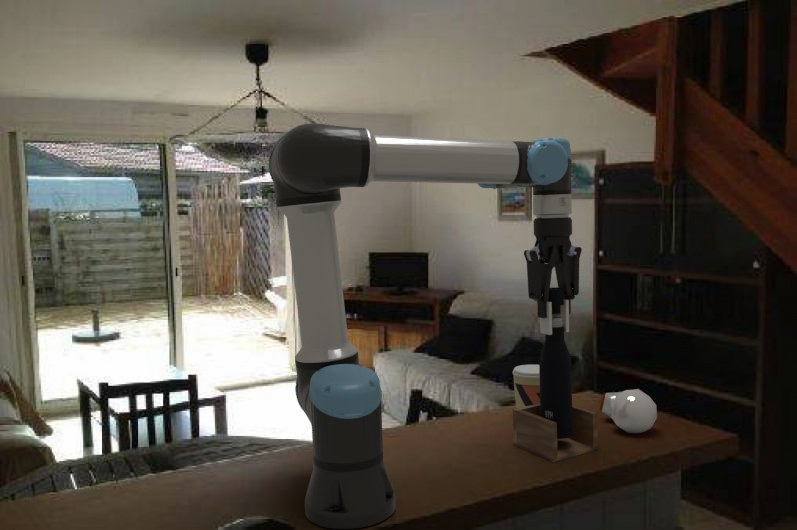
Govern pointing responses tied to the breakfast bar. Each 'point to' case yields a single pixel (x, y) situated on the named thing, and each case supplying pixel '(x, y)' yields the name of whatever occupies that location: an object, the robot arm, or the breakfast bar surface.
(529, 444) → the u rest
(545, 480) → the breakfast bar surface
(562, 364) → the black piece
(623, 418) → the potion bottle
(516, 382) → the coffee cup
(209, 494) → the breakfast bar surface
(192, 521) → the breakfast bar surface
